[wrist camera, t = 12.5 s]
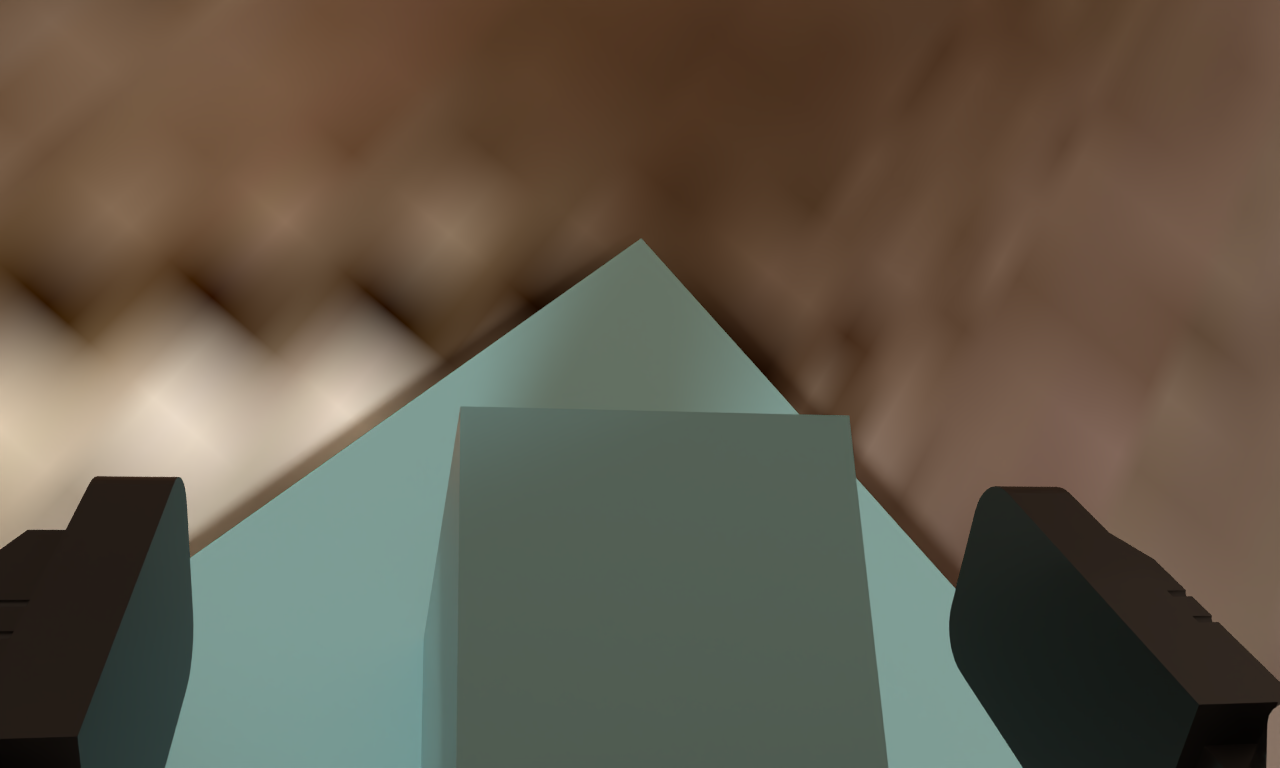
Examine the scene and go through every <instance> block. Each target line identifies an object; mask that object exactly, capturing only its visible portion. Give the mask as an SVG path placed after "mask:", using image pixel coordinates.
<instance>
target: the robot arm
mask: <svg viewBox="0 0 1280 768" xmlns="http://www.w3.org/2000/svg"><path fill="white" fill-rule="evenodd" d="M1185 592H1186V590H1185V589H1184V588H1183V587H1182V586H1181V585H1180V584H1179V583H1178V582H1177V581H1176V580H1175V579H1174V578H1173V577H1172V576H1171V575H1170V574H1169V573H1168V572H1166V571H1165V570H1164V569H1163V568H1162V567H1161V566H1160V565H1159V564H1158V563H1157V562H1156V561H1155V560H1154V559H1152V558H1151V557H1149V556H1147V555H1146V554H1144V553H1142V552H1141V551H1139V550H1137V549H1136V548H1134V547H1132V546H1131V545H1129V544H1127V543H1126V542H1124V541H1122V540H1121V539H1119V538H1117V537H1115V536H1114V535H1112V534H1110V533H1109V532H1108V531H1107V530H1106V529H1105V528H1104V527H1103V526H1102V525H1101V524H1100V523H1099V522H1098V521H1097V520H1096V519H1095V518H1094V517H1093V516H1092V515H1091V514H1090V513H1089V512H1088V511H1087V510H1086V509H1085V508H1084V507H1083V506H1082V505H1081V504H1080V503H1079V502H1078V501H1077V500H1076V499H1075V498H1074V497H1073V496H1072V495H1071V494H1070V493H1069V492H1067V491H1066V490H1065V489H1063V488H1060V487H1000V486H995V487H991V488H989V489H987V490H986V491H985V492H984V493H983V495H982V496H981V498H980V500H979V502H978V504H977V507H976V510H975V514H974V518H973V522H972V526H971V530H970V534H969V538H968V542H967V546H966V550H965V554H964V558H963V562H962V566H961V570H960V574H959V578H958V582H957V586H956V590H955V594H954V598H953V602H952V605H951V610H950V618H949V637H950V644H951V649H952V653H953V657H954V660H955V662H956V665H957V667H958V669H959V671H960V672H961V674H962V675H963V677H964V679H965V680H966V682H967V683H968V685H969V686H970V688H971V689H972V691H973V692H974V694H975V695H976V697H977V698H978V700H979V702H980V703H981V705H982V706H983V708H984V709H985V711H986V712H987V714H988V715H989V717H990V718H991V720H992V721H993V723H994V725H995V726H996V728H997V729H998V731H999V732H1000V734H1001V735H1002V737H1003V738H1004V740H1005V741H1006V743H1007V744H1008V746H1009V748H1010V749H1011V751H1012V752H1013V754H1014V755H1015V757H1016V758H1017V760H1018V761H1019V763H1020V764H1021V766H1022V767H1023V768H1280V682H1279V681H1278V680H1277V679H1276V678H1275V677H1274V676H1273V675H1272V674H1271V673H1270V672H1269V671H1268V670H1267V669H1266V668H1265V667H1264V666H1263V665H1262V664H1261V663H1260V662H1259V661H1258V660H1257V659H1256V658H1255V657H1254V656H1253V655H1252V654H1250V653H1249V652H1248V651H1247V650H1246V649H1245V648H1244V647H1243V646H1242V645H1241V644H1240V643H1239V642H1238V641H1237V640H1236V639H1235V638H1234V637H1233V636H1232V635H1231V634H1230V633H1229V632H1228V631H1227V630H1226V629H1225V628H1224V627H1223V626H1222V625H1221V624H1220V623H1219V622H1212V619H1211V617H1212V615H1211V614H1210V613H1208V612H1207V611H1206V610H1205V609H1204V608H1203V607H1202V606H1201V605H1200V604H1199V603H1198V602H1197V601H1196V600H1195V599H1194V598H1193V597H1192V596H1188V597H1186V593H1185ZM192 651H193V602H192V585H191V568H190V551H189V534H188V517H187V501H186V492H185V487H184V483H183V481H182V479H181V478H180V477H106V476H97V477H94V478H93V479H92V480H91V482H90V484H89V486H88V488H87V490H86V491H85V493H84V495H83V497H82V499H81V501H80V503H79V505H78V507H77V509H76V511H75V513H74V515H73V517H72V519H71V521H70V523H69V525H68V527H67V529H66V530H27V531H26V532H24V533H23V534H21V535H20V536H19V537H17V538H16V539H14V540H13V541H12V542H10V543H9V544H7V545H6V546H5V547H3V548H2V549H0V768H165V766H166V762H167V759H168V755H169V751H170V748H171V744H172V740H173V737H174V733H175V730H176V726H177V722H178V719H179V715H180V711H181V708H182V704H183V700H184V697H185V693H186V689H187V685H188V681H189V676H190V669H191V661H192Z"/></svg>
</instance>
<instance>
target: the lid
mask: <svg viewBox="0 0 1280 768" xmlns="http://www.w3.org/2000/svg"><path fill="white" fill-rule="evenodd" d="M190 568H191V585H192V602H193V651H192V661H191V669H190V676H189V681H188V685H187V689H186V693H185V697H184V700H183V704H182V708H181V711H180V715H179V719H178V722H177V726H176V730H175V733H174V737H173V740H172V744H171V748H170V751H169V755H168V759H167V762H166V766H165V768H1023V767H1022V766H1021V764H1020V763H1019V761H1018V760H1017V758H1016V757H1015V755H1014V754H1013V752H1012V751H1011V749H1010V748H1009V746H1008V744H1007V743H1006V741H1005V740H1004V738H1003V737H1002V735H1001V734H1000V732H999V731H998V729H997V728H996V726H995V725H994V723H993V721H992V720H991V718H990V717H989V715H988V714H987V712H986V711H985V709H984V708H983V706H982V705H981V703H980V702H979V700H978V698H977V697H976V695H975V694H974V692H973V691H972V689H971V688H970V686H969V685H968V683H967V682H966V680H965V679H964V677H963V675H962V674H961V672H960V671H959V669H958V667H957V665H956V662H955V660H954V657H953V653H952V649H951V644H950V637H949V618H950V610H951V605H952V602H953V598H954V594H955V590H956V589H955V588H954V587H953V586H952V584H951V583H950V582H949V581H948V580H947V579H946V578H945V577H944V576H943V574H942V573H941V572H940V571H939V570H938V569H937V568H936V567H935V565H934V564H933V563H932V562H931V561H930V560H929V559H928V558H927V557H926V555H925V554H924V553H923V552H922V551H921V550H920V549H919V548H918V546H917V545H916V544H915V543H914V542H913V541H912V540H911V539H910V538H909V536H908V535H907V534H906V533H905V532H904V531H903V530H902V529H901V528H900V526H899V525H898V524H897V523H896V522H895V521H894V520H893V519H892V517H891V516H890V515H889V514H888V513H887V512H886V511H885V510H884V509H883V507H882V506H881V505H880V504H879V503H878V502H877V501H876V500H875V499H874V497H873V496H872V495H871V494H870V493H869V492H868V491H867V490H866V488H865V487H864V486H863V485H862V484H861V483H860V482H859V481H858V480H857V478H856V473H855V464H854V455H853V446H852V437H851V428H850V419H849V416H843V415H801V414H798V413H797V411H796V410H795V409H794V408H793V407H792V406H791V405H790V404H789V403H788V401H787V400H786V399H785V398H784V397H783V396H782V395H781V394H780V392H779V391H778V390H777V389H776V388H775V387H774V386H773V385H772V384H771V382H770V381H769V380H768V379H767V378H766V377H765V376H764V375H763V374H762V372H761V371H760V370H759V369H758V368H757V367H756V366H755V365H754V363H753V362H752V361H751V360H750V359H749V358H748V357H747V356H746V355H745V353H744V352H743V351H742V350H741V349H740V348H739V347H738V346H737V344H736V343H735V342H734V341H733V340H732V339H731V338H730V337H729V336H728V334H727V333H726V332H725V331H724V330H723V329H722V328H721V327H720V326H719V324H718V323H717V322H716V321H715V320H714V319H713V318H712V317H711V315H710V314H709V313H708V312H707V311H706V310H705V309H704V308H703V307H702V305H701V304H700V303H699V302H698V301H697V300H696V299H695V298H694V297H693V295H692V294H691V293H690V292H689V291H688V290H687V289H686V288H685V286H684V285H683V284H682V283H681V282H680V281H679V280H678V279H677V278H676V276H675V275H674V274H673V273H672V272H671V271H670V270H669V269H668V267H667V266H666V265H665V264H664V263H663V262H662V261H661V260H660V259H659V257H658V256H657V255H656V254H655V253H654V252H653V251H652V250H651V249H650V247H649V246H648V245H647V244H646V243H645V242H644V241H643V240H642V238H641V239H639V240H638V241H637V242H635V243H634V244H632V245H631V246H630V247H628V248H627V249H625V250H624V251H622V252H621V253H620V254H618V255H617V256H615V257H614V258H613V259H611V260H610V261H608V262H607V263H606V264H604V265H603V266H601V267H600V268H599V269H597V270H596V271H594V272H593V273H591V274H590V275H589V276H587V277H586V278H584V279H583V280H582V281H580V282H579V283H577V284H576V285H575V286H573V287H572V288H570V289H569V290H567V291H566V292H565V293H563V294H562V295H560V296H559V297H558V298H556V299H555V300H553V301H552V302H551V303H549V304H548V305H546V306H545V307H543V308H542V309H541V310H539V311H538V312H536V313H535V314H534V315H532V316H531V317H529V318H528V319H527V320H525V321H524V322H522V323H521V324H519V325H518V326H517V327H515V328H514V329H512V330H511V331H510V332H508V333H507V334H505V335H504V336H503V337H501V338H500V339H498V340H497V341H496V342H494V343H493V344H491V345H490V346H488V347H487V348H486V349H484V350H483V351H481V352H480V353H479V354H477V355H476V356H474V357H473V358H472V359H470V360H469V361H467V362H466V363H464V364H463V365H462V366H460V367H459V368H457V369H456V370H455V371H453V372H452V373H450V374H449V375H448V376H446V377H445V378H443V379H442V380H440V381H439V382H438V383H436V384H435V385H433V386H432V387H431V388H429V389H428V390H426V391H425V392H424V393H422V394H421V395H419V396H418V397H417V398H415V399H414V400H412V401H411V402H409V403H408V404H407V405H405V406H404V407H402V408H401V409H400V410H398V411H397V412H395V413H394V414H393V415H391V416H390V417H388V418H387V419H385V420H384V421H383V422H381V423H380V424H378V425H377V426H376V427H374V428H373V429H371V430H370V431H369V432H367V433H366V434H364V435H363V436H361V437H360V438H359V439H357V440H356V441H354V442H353V443H352V444H350V445H349V446H347V447H346V448H345V449H343V450H342V451H340V452H339V453H337V454H336V455H335V456H333V457H332V458H330V459H329V460H328V461H326V462H325V463H323V464H322V465H321V466H319V467H318V468H316V469H315V470H314V471H312V472H311V473H309V474H308V475H306V476H305V477H304V478H302V479H301V480H299V481H298V482H297V483H295V484H294V485H292V486H291V487H290V488H288V489H287V490H285V491H284V492H282V493H281V494H280V495H278V496H277V497H275V498H274V499H273V500H271V501H270V502H268V503H267V504H266V505H264V506H263V507H261V508H260V509H258V510H257V511H256V512H254V513H253V514H251V515H250V516H249V517H247V518H246V519H244V520H243V521H242V522H240V523H239V524H237V525H236V526H235V527H233V528H232V529H230V530H229V531H227V532H226V533H225V534H223V535H222V536H220V537H219V538H218V539H216V540H215V541H213V542H212V543H211V544H209V545H208V546H206V547H205V548H203V549H202V550H201V551H199V552H198V553H196V554H195V555H194V556H192V557H191V558H190Z"/></svg>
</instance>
